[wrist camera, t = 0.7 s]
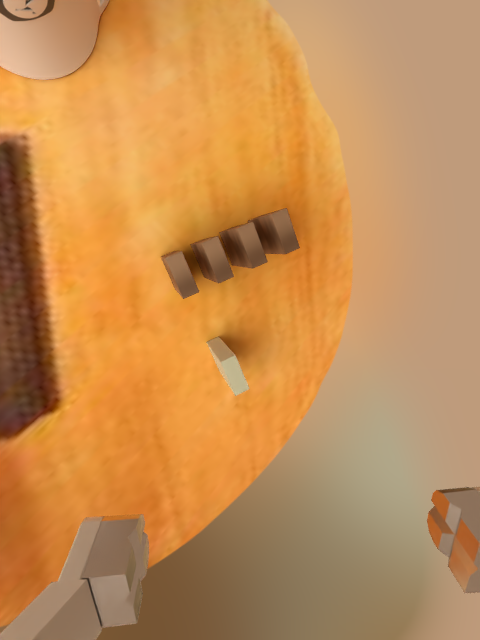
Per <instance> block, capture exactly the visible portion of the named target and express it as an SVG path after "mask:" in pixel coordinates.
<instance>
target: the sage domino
mask: <svg viewBox="0 0 480 640" xmlns="http://www.w3.org/2000/svg"><path fill="white" fill-rule="evenodd" d="M207 344H208V347H209V349H210V351H211V353H212V356H213V358H214V360H215V362H216V365H217V367H218V369H219V371H220V373H221V374H222V376H223V377H224V379H225V380H226V382H227V384H228V385H229V387H230V388H231V390H232V391H233V393H234V394H235V396H236V395H238V394H240V393H242V392H244V391H246V390H248V389H249V386H248V384H247V382H246V379H245V377H244V375H243V372H242V370H241V367H240V365H239V363H238V360H237V358H236V356H235V354H234V353H233V352H232V351H231V350H230V349H229V348H228V346H227V345H226V344H225V343H224V342H223V341H222V340H221V339H220V338H219V336H218V337H216V338H214V339H212V340H210V341H208V342H207Z"/></svg>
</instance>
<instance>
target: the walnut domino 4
mask: <svg viewBox="0 0 480 640" xmlns="http://www.w3.org/2000/svg"><path fill="white" fill-rule="evenodd" d="M251 222H253V223H254V226H255V229H256V231H257V234H258V237H259V240H260V242H261V245H262V248H263V251H264V253H265V254H287V253H289V252H292V251H294V250H296V249H298V248H300V247H299V244H298V241H297V238H296V235H295V232H294V229H293V226H292V223H291V220H290V217H289V214H288V211H287V208H285V209H282V210H278V211H275V212H272V213H268V214H265V215H262V216H259V217H256V218H254V219H251V220H249V221H248V223H251Z"/></svg>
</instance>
